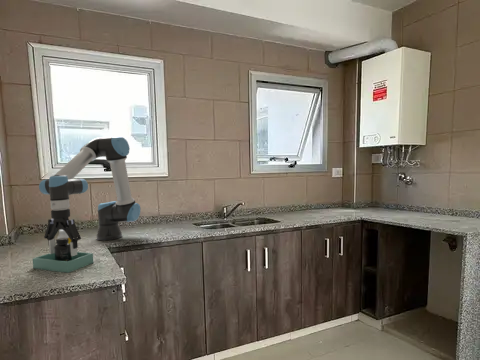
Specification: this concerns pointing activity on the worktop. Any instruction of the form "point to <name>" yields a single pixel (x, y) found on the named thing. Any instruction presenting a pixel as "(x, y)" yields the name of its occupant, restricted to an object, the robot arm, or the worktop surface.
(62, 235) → the supplement bottle
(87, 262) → the green tray
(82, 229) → the worktop surface
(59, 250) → the supplement bottle
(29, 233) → the worktop surface
